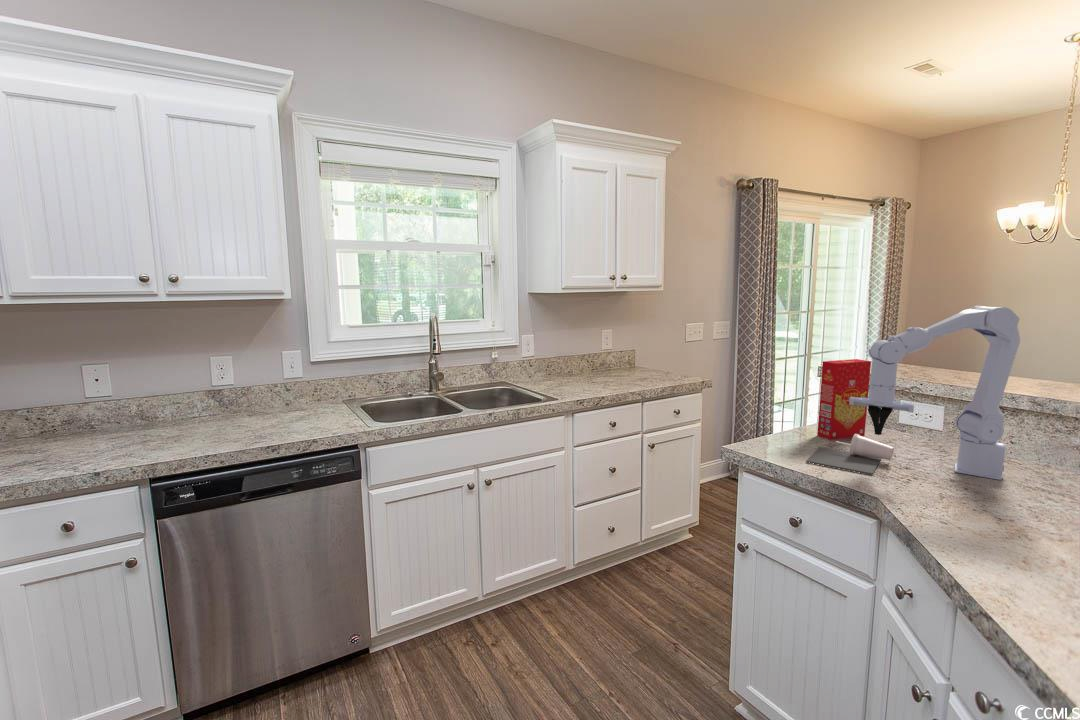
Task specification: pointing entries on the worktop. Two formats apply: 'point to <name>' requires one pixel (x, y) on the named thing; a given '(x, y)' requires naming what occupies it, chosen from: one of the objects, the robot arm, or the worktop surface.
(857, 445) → the smoothie
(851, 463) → the mat
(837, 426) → the food packaging
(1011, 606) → the worktop surface
